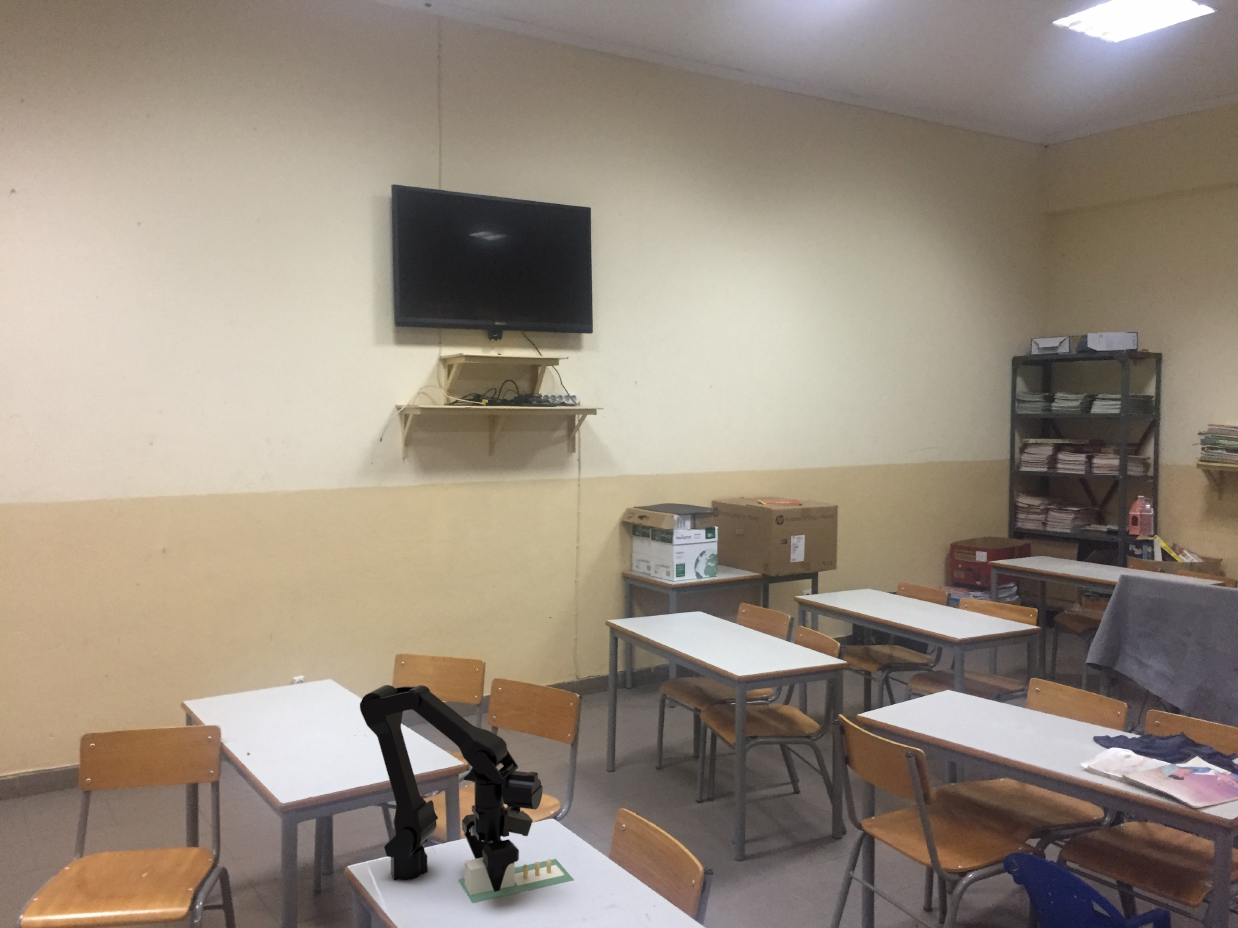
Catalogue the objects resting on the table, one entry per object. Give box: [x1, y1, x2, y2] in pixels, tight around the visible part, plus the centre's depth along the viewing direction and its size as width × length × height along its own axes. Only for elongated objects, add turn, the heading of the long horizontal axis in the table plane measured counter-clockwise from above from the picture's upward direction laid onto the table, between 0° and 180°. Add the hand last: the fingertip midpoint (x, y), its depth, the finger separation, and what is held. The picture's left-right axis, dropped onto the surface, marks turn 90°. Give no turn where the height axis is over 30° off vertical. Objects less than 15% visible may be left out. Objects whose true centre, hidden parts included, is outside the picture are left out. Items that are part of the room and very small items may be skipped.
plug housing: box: [464, 857, 516, 895], centre depth 182 cm, size 9×4×5 cm, turn 115°
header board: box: [457, 858, 575, 904], centre depth 185 cm, size 21×10×4 cm, turn 115°
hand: (489, 880), depth 182 cm, fingers open, 9 cm apart
